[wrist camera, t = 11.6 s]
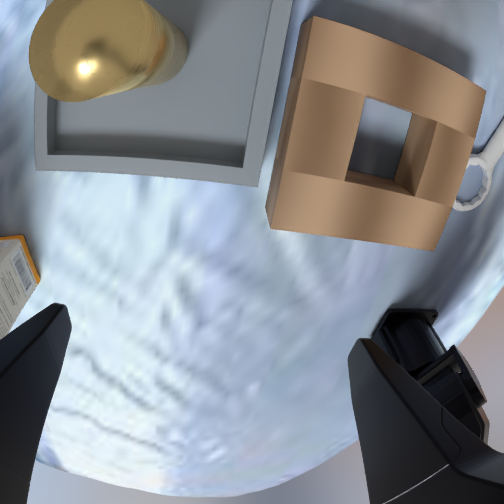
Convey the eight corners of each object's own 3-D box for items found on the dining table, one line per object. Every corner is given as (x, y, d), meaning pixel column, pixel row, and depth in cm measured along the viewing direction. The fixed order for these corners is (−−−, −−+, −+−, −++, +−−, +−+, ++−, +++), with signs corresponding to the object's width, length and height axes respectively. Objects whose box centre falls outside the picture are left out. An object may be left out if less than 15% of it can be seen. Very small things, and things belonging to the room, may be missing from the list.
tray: (294, -34, 12) (301, -44, 10) (255, 176, 19) (257, 187, 17) (71, -34, 10) (57, -42, 8) (50, 160, 17) (36, 170, 15)
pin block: (459, 85, 16) (486, 90, 13) (414, 231, 22) (433, 251, 19) (300, 24, 14) (313, 15, 12) (265, 207, 20) (270, 228, 18)
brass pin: (193, 21, 13) (156, -26, 6) (182, 87, 15) (135, 102, 8) (124, 21, 13) (39, -9, 5) (115, 85, 15) (25, 105, 7)
